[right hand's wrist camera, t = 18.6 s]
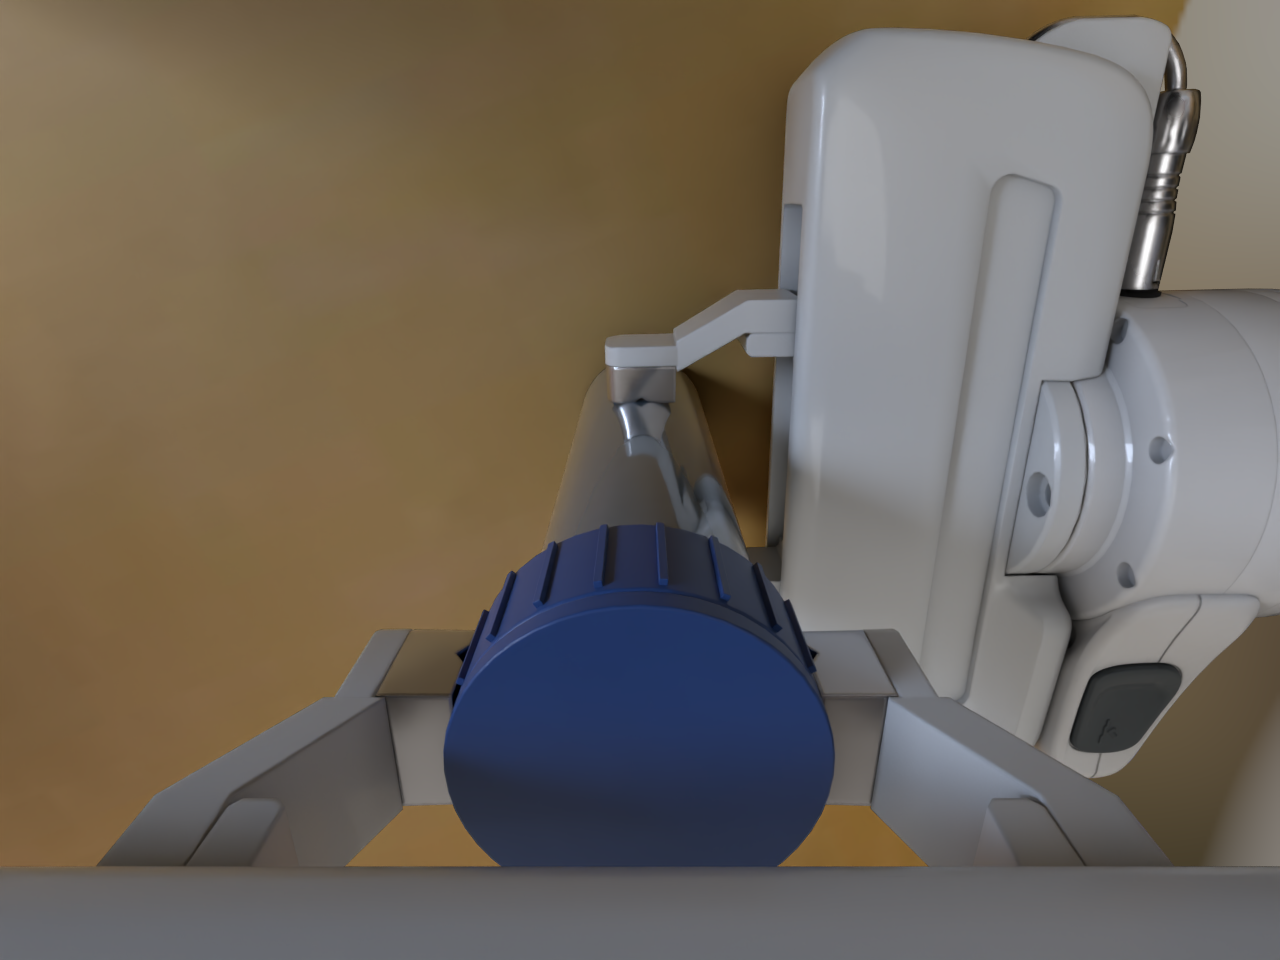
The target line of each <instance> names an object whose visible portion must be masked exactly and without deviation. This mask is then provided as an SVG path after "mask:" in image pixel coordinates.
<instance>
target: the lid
mask: <svg viewBox="0 0 1280 960" xmlns="http://www.w3.org/2000/svg"><path fill="white" fill-rule="evenodd" d="M816 671H817V669H816V667H815V664H814V661H813V659H812V656H811V653H810V651H809V648H808V645H807V643H806V640H805V637H804V635H803V632H802V629H801V627H800V624H799V622H798V619H797V616H796V614H795V611H794V608H793V606H792V603H791V602H790V600H789V599H788V600H786V601H784V600H783V598H782V597H781V595H780V594H779V592H778V591H777V589H776V588H775V586H774V585H773V584H772V583H771V582H770V580H769V579H768V578H767V577H766V576H765V574H764V571H763V568H762V566H761V565H760V564H759V563H758V562H756V563H755V564H754V565H753V564H752V563H751V562H750V561H749V560H747V559H746V558H745V557H743V556H742V555H740V554H739V553H737V552H735V551H734V550H732V549H731V548H729V547H728V546H725V545H723V544H721V543H719V541H718V538H717V537H715V536H713V535H711V536H710V538H708V537H706V536H703V535H699V534H696V533H693V532H690V531H687V530H683V529H678V528H672V527H667V526H664V523H660V522H657V523H656V525H644V524H637V525H618V526H612V527H608V525H607V524H604V525H600V529H595V530H592V531H589V532H585V533H582V534H579V535H575V536H573V537H571V538H568V539H566V540H564V541H562V542H559V543H557V544H556V542H555V541H553V542H551V543H549V544H548V547H547V549H546V550H545V551H543V552H541V553H540V554H538V555H536V556H535V557H534V558H533V559H531V560H530V561H529V562H528V563H526V564H525V565H524V566H523V567H521V568H520V569H519V570H518V571H517V572H516V573H514V572H513V571H511V572H510V573H509V574H508V575H507V578H506V580H505V583H504V586H503V589H502V590H501V592H500V593H499V594H498V596H497V597H496V599H495V601H494V603H493V605H492V607H491V609H490V611H486V610H483V612H482V615H481V617H480V620H479V623H478V625H477V628H476V630H475V633H474V636H473V638H472V641H471V644H470V646H469V649H468V651H467V654H466V657H465V659H464V662H463V665H462V667H461V670H460V672H459V675H458V678H457V680H456V684H459V685H461V688H460V691H459V694H458V696H457V699H456V702H455V705H454V707H453V710H452V713H451V716H450V720H449V723H448V726H447V729H446V734H445V742H444V749H443V758H444V774H445V779H446V783H447V788H448V793H449V795H450V798H451V801H452V803H453V806H454V809H455V811H456V813H457V815H458V816H459V818H460V820H461V822H462V824H463V825H464V827H465V829H466V830H467V831H468V833H469V834H470V835H471V837H472V838H473V839H474V841H475V842H476V843H477V844H478V846H480V847H481V848H482V849H483V850H484V851H485V852H486V853H487V854H488V855H489V856H490V857H491V858H492V859H493V860H494V861H495V862H496V863H498V864H499V865H500V866H502V867H777V866H778V865H779V864H781V863H782V862H783V861H784V860H785V859H787V858H788V857H789V856H790V855H791V854H792V853H793V852H794V851H795V850H796V849H797V848H798V847H799V846H800V845H801V843H802V842H803V841H804V840H805V838H806V837H807V836H808V835H809V833H810V832H811V831H812V829H813V827H814V826H815V824H816V822H817V821H818V819H819V817H820V816H821V814H822V812H823V809H824V807H825V804H826V802H827V799H828V797H829V794H830V789H831V785H832V781H833V776H834V766H835V747H834V738H833V732H832V728H831V725H830V721H829V718H828V714H827V711H826V709H825V706H824V703H823V700H822V698H821V696H820V692H819V690H818V687H817V684H816V681H815V679H814V676H813V673H814V672H816Z"/></svg>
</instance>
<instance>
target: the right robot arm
mask: <svg viewBox="0 0 1280 960" xmlns="http://www.w3.org/2000/svg"><path fill="white" fill-rule="evenodd" d="M802 632H803V635H804V637H805V640H806V643H807V645H808V648H809V651H810V653H811V656H812V659H813V661H814V664H815V667H816V669H817V671H816V672H814V673H813V676H814V679H815V681H816V684H817V687H818V690H819V692H820V696H821V698H822V700H823V703H824V706H825V709H826V711H827V714H828V718H829V721H830V725H831V728H832V732H833V738H834V747H835V766H834V776H833V781H832V785H831V789H830V794H829V797H828V799H827V802H826V804H825V805H861V806H871V809H872V810H873V811H874V812H875V813H876V814H877V815H878V816H879V817H880V818H881V819H882V820H883V821H884V822H885V823H886V824H887V825H888V826H889V827H890V828H891V829H892V830H893V831H894V832H895V833H896V834H897V835H898V836H899V837H900V838H901V839H902V840H903V841H904V842H905V843H906V844H907V845H908V846H909V847H910V848H911V849H912V850H913V851H914V852H915V853H916V854H917V855H918V856H919V857H920V858H921V859H922V860H923V861H924V862H925V863H926V864H927V865H928V866H929V867H344V866H346V865H347V864H348V863H349V862H350V861H351V860H352V859H353V858H354V857H355V856H356V855H357V854H358V853H359V852H360V851H361V850H362V849H363V848H364V847H365V846H366V845H367V844H368V843H369V842H370V841H371V840H372V839H373V838H374V837H375V836H376V835H377V834H378V833H379V832H380V831H381V830H382V829H383V828H384V827H385V826H386V825H387V824H388V823H389V822H390V821H391V820H392V819H393V818H394V817H395V816H396V815H397V814H398V813H400V812H401V811H402V810H403V807H402V806H412V805H447V804H453V803H452V801H451V798H450V795H449V793H448V788H447V783H446V779H445V774H444V758H443V749H444V742H445V734H446V729H447V726H448V723H449V720H450V716H451V713H452V710H453V707H454V705H455V702H456V699H457V696H458V694H459V691H460V688H461V685H459V684H456V680H457V678H458V675H459V672H460V670H461V667H462V665H463V662H464V659H465V657H466V654H467V651H468V649H469V646H470V644H471V641H472V638H473V636H474V633H475V630H434V629H414V630H412V629H381V630H378V631H376V632H375V633H374V634H373V636H372V637H371V639H370V640H369V642H368V644H367V645H366V647H365V648H364V650H363V652H362V653H361V655H360V656H359V658H358V660H357V661H356V663H355V665H354V666H353V668H352V669H351V671H350V673H349V674H348V676H347V677H346V679H345V681H344V682H343V684H342V685H341V687H340V689H339V690H338V692H337V693H336V695H335V697H323V698H322V699H320V700H318V701H316V702H315V703H313V704H311V705H309V706H308V707H306V708H304V709H303V710H301V711H299V712H297V713H296V714H294V715H292V716H290V717H289V718H287V719H285V720H284V721H282V722H280V723H278V724H277V725H275V726H273V727H271V728H270V729H268V730H266V731H265V732H263V733H261V734H259V735H258V736H256V737H254V738H252V739H251V740H249V741H247V742H246V743H244V744H242V745H240V746H239V747H237V748H235V749H233V750H232V751H230V752H228V753H226V754H225V755H223V756H221V757H220V758H218V759H216V760H214V761H213V762H211V763H209V764H207V765H206V766H204V767H202V768H201V769H199V770H197V771H195V772H194V773H192V774H190V775H188V776H187V777H185V778H183V779H182V780H180V781H178V782H176V783H175V784H173V785H171V786H169V787H168V788H166V789H164V790H163V791H161V792H159V793H157V794H156V795H154V796H153V798H152V799H151V800H150V801H149V803H148V804H147V805H146V806H145V807H144V809H143V810H142V811H141V812H140V813H139V815H138V816H137V817H136V818H135V820H134V821H133V822H132V823H131V824H130V826H129V827H128V828H127V829H126V830H125V832H124V833H123V834H122V835H121V837H120V838H119V839H118V840H117V841H116V843H115V844H114V845H113V846H112V848H111V849H110V850H109V851H108V852H107V854H106V855H105V856H104V857H103V858H102V860H101V861H100V862H99V863H98V865H97V866H0V960H1280V867H1175V866H1174V865H1173V864H1172V862H1171V861H1170V860H1169V859H1168V858H1167V856H1166V855H1165V854H1164V853H1163V851H1162V850H1161V849H1160V848H1159V846H1158V845H1157V844H1156V843H1155V841H1154V840H1153V839H1152V838H1151V836H1150V835H1149V834H1148V833H1147V831H1146V830H1145V829H1144V828H1143V826H1142V825H1141V824H1140V823H1139V821H1138V820H1137V819H1136V818H1135V816H1134V815H1133V814H1132V813H1131V811H1130V810H1129V809H1128V808H1127V806H1126V805H1125V804H1124V803H1123V801H1122V800H1121V799H1120V798H1119V796H1117V795H1115V794H1114V793H1112V792H1110V791H1109V790H1107V789H1105V788H1104V787H1102V786H1100V785H1098V784H1097V783H1095V782H1093V781H1092V780H1090V779H1088V778H1086V777H1085V776H1083V775H1081V774H1080V773H1078V772H1076V771H1074V770H1073V769H1071V768H1069V767H1068V766H1066V765H1064V764H1063V763H1061V762H1059V761H1057V760H1056V759H1054V758H1052V757H1051V756H1049V755H1047V754H1045V753H1044V752H1042V751H1040V750H1039V749H1037V748H1035V747H1034V746H1032V745H1030V744H1028V743H1027V742H1025V741H1023V740H1022V739H1020V738H1018V737H1016V736H1015V735H1013V734H1011V733H1010V732H1008V731H1006V730H1004V729H1003V728H1001V727H999V726H998V725H996V724H994V723H993V722H991V721H989V720H987V719H986V718H984V717H982V716H981V715H979V714H977V713H975V712H974V711H972V710H970V709H969V708H967V707H965V706H964V705H962V704H960V703H958V702H957V701H955V700H953V699H952V698H950V697H939V696H938V695H937V693H936V691H935V690H934V688H933V687H932V685H931V683H930V682H929V680H928V678H927V677H926V675H925V674H924V672H923V670H922V669H921V667H920V666H919V664H918V662H917V661H916V659H915V657H914V656H913V654H912V653H911V651H910V649H909V648H908V646H907V644H906V643H905V641H904V640H903V638H902V636H901V635H900V633H899V632H898V631H897V630H895V629H893V628H892V629H864V630H841V631H802Z"/></svg>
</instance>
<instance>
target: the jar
mask: <svg viewBox="0 0 1280 960" xmlns="http://www.w3.org/2000/svg"><path fill="white" fill-rule="evenodd" d="M657 522H660V523H664V526H667V527H672V528H678V529H683V530H687V531H690V532H693V533H696V534H699V535H703V536H706V537H708V538H710V536H711V535H713V536H715V537H717V538H718V541H719V543H721V544H723V545H725V546H728V547H729V548H731V549H732V550H734V551H735V552H737V553H739V554H740V555H742V556H743V557H745V558H746V559H747V560H749V561H750V559H749V555H748V552H747V549H746V546H745V543H744V539H743V536H742V533H741V530H740V527H739V523H738V520H737V517H736V514H735V510H734V507H733V504H732V501H731V498H730V494H729V491H728V488H727V485H726V482H725V478H724V475H723V472H722V469H721V466H720V462H719V459H718V456H717V453H716V450H715V446H714V443H713V440H712V437H711V434H710V430H709V427H708V424H707V421H706V418H705V414H704V411H703V408H702V405H701V402H700V398H699V395H698V392H697V390H696V388H695V386H694V385H693V383H692V382H691V380H690V379H689V378H688V376H687V375H686V374H685V373H684V372H683V371H681V370H680V371H678V372H677V369H676V397H675V403H653V402H647V401H646V400H644V399H643V398H639V399H638V400H637V401H635V402H633V403H627V404H619V403H612V402H610V401H608V398H607V382H606V368H605V369H604V370H603V371H602V372H601V373H599V374H598V376H597V377H596V378H595V379H594V380H593V382H592V383H591V385H590V387H589V389H588V391H587V393H586V396H585V399H584V402H583V406H582V409H581V413H580V416H579V420H578V423H577V427H576V431H575V434H574V438H573V441H572V445H571V448H570V452H569V456H568V459H567V463H566V466H565V470H564V473H563V477H562V480H561V484H560V488H559V491H558V495H557V498H556V502H555V505H554V509H553V512H552V516H551V520H550V523H549V527H548V530H547V534H546V537H545V541H544V544H543V548H542V552H543V551H545V550H546V549H547V547H548V544H549V543H551V542H553V541H555V542H556V544H557V543H559V542H562V541H564V540H566V539H568V538H571V537H573V536H575V535H579V534H582V533H585V532H589V531H592V530H595V529H600V525H604V524H607V525H608V527H612V526H618V525H637V524H644V525H656V523H657Z"/></svg>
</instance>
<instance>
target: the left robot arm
mask: <svg viewBox="0 0 1280 960" xmlns="http://www.w3.org/2000/svg"><path fill="white" fill-rule="evenodd" d="M1163 76H1164V80H1165V91H1162V92H1160V90H1161V85H1162V81H1163ZM1186 88H1187V68H1186V62H1185V59H1184V55H1183V52H1182V50H1181V47H1180V45H1179V43H1178V42H1177V40H1176V39H1175V37H1174V36H1173V35H1172V34H1171V31H1170V29H1169V27H1168V26H1167V25H1166V24H1164V23H1162V22H1160V21H1157V20H1154V19H1151V18H1147V17H1142V16H1137V15H1108V16H1073V17H1068V18H1064V19H1060V20H1057V21H1055V22H1052V23H1050V24H1047V25H1045V26H1044V27H1042V28H1040V29H1039V30H1037V31H1035V32H1034V33H1033V34H1031V35H1030V36H1029V37H1028V38H1026V39H1019V38H1012V37H1005V36H998V35H990V34H983V33H974V32H964V31H953V30H940V29H922V28H868V29H863V30H859V31H856V32H853V33H851V34H848V35H846V36H844V37H842V38H840V39H839V40H837V41H836V42H834V43H833V44H832V45H830V46H829V47H828V48H827V49H825V50H824V51H823V52H822V53H821V54H820V55H819V56H818V57H817V58H816V59H815V60H814V61H813V62H812V63H811V64H810V65H809V66H808V67H807V68H806V69H805V71H804V72H803V73H802V74H801V75H800V76H799V78H798V79H797V80H796V81H795V82H794V83H793V85H792V87H791V89H790V91H789V95H788V100H787V114H786V134H785V154H784V175H783V195H782V216H781V236H780V257H779V278H778V289H753V290H735V291H734V292H732V293H730V294H729V295H727V296H725V297H724V298H722V299H721V300H719V301H717V302H716V303H714V304H713V305H711V306H709V307H708V308H706V309H705V310H703V311H701V312H700V313H698V314H696V315H695V316H693V317H692V318H690V319H688V320H687V321H685V322H684V323H682V324H680V325H679V326H677V327H675V328H674V329H673V333H668V334H626V335H616V336H611V337H607V339H606V343H605V365H606V382H607V398H608V401H610V402H612V403H619V404H627V403H633V402H635V401H637V400H638V399H639V398H643V399H644V400H646V401H647V402H653V403H675V397H676V369H677V372H678V371H680V370H682V369H684V368H685V367H687V366H689V365H691V364H692V363H694V362H696V361H698V360H699V359H701V358H703V357H705V356H706V355H708V354H710V353H712V352H714V351H715V350H717V349H719V348H721V347H722V346H724V345H726V344H728V343H729V342H731V341H733V340H735V339H736V338H737V339H738V341H739V342H740V344H741V345H742V347H743V348H744V350H745V351H746V353H747V354H748V355H749V356H750V357H775V360H774V380H773V401H772V422H771V442H770V463H769V483H768V504H767V524H766V545H765V547H748V548H746V549H747V552H748V555H749V559H750V562H751V563H752V564H753V565H754V564H755V563H756V562H758V563H759V564H760V565H761V566H762V568H763V571H764V574H765V576H766V577H767V578H768V579H769V580H770V582H771V583H772V584H773V585H774V586H775V588H776V589H777V591H778V592H779V594H780V595H781V597H782V598H783V600H784V601H786V600H788V599H789V600H790V602H791V603H792V606H793V608H794V611H795V614H796V616H797V619H798V622H799V624H800V627H801V629H802V631H841V630H864V629H892V628H893V629H895V630H897V631H898V632H899V633H900V635H901V636H902V638H903V640H904V641H905V643H906V644H907V646H908V648H909V649H910V651H911V653H912V654H913V656H914V657H915V659H916V661H917V662H918V664H919V666H920V667H921V669H922V670H923V672H924V674H925V675H926V677H927V678H928V680H929V682H930V683H931V685H932V687H933V688H934V690H935V691H936V693H937V695H938V696H939V697H950V698H952V699H953V700H955V701H957V702H958V703H960V704H962V705H964V706H965V707H967V708H969V709H970V710H972V711H974V712H975V713H977V714H979V715H981V716H982V717H984V718H986V719H987V720H989V721H991V722H993V723H994V724H996V725H998V726H999V727H1001V728H1003V729H1004V730H1006V731H1008V732H1010V733H1011V734H1013V735H1015V736H1016V737H1018V738H1020V739H1022V740H1023V741H1025V742H1027V743H1028V744H1030V745H1032V746H1034V747H1035V748H1037V749H1039V750H1040V751H1042V752H1044V753H1045V754H1047V755H1049V756H1051V757H1052V758H1054V759H1056V760H1057V761H1059V762H1061V763H1063V764H1064V765H1066V766H1068V767H1069V768H1071V769H1073V770H1074V771H1076V772H1078V773H1080V774H1081V775H1083V776H1085V777H1086V778H1098V777H1104V776H1109V775H1112V774H1114V773H1116V772H1118V771H1120V770H1121V769H1122V768H1124V767H1125V766H1126V765H1127V764H1128V763H1129V762H1130V760H1131V759H1132V758H1133V757H1134V756H1135V754H1136V753H1137V752H1138V750H1139V749H1140V748H1141V746H1142V745H1143V743H1144V742H1145V741H1146V739H1147V738H1148V737H1149V735H1150V734H1151V732H1152V731H1153V730H1154V728H1155V727H1156V726H1157V724H1158V723H1159V722H1160V720H1161V719H1162V718H1163V716H1164V715H1165V714H1166V712H1167V711H1168V710H1169V709H1170V707H1171V706H1172V705H1173V704H1174V702H1175V701H1176V700H1177V699H1178V698H1179V696H1180V695H1181V694H1182V693H1183V692H1184V690H1185V689H1186V688H1187V687H1188V686H1189V685H1190V684H1191V683H1192V681H1193V680H1194V679H1195V678H1196V677H1197V676H1198V675H1199V674H1200V673H1201V672H1202V671H1203V670H1204V669H1205V668H1206V667H1207V666H1208V665H1209V664H1210V663H1211V662H1212V661H1213V660H1214V659H1215V658H1216V657H1217V656H1218V655H1219V654H1220V653H1221V652H1222V651H1224V650H1225V649H1226V648H1227V647H1228V646H1229V645H1230V644H1231V643H1233V642H1234V641H1235V640H1236V639H1237V638H1238V637H1239V636H1240V635H1241V634H1242V633H1243V632H1244V631H1245V630H1246V629H1247V628H1248V627H1249V625H1250V624H1251V622H1252V621H1253V620H1254V618H1255V617H1268V616H1274V615H1280V290H1279V289H1212V290H1169V291H1158V288H1159V284H1160V280H1161V276H1162V272H1163V268H1164V264H1165V260H1166V256H1167V252H1168V247H1169V243H1170V239H1171V235H1172V231H1173V225H1174V219H1175V214H1174V213H1173V212H1174V211H1175V210H1176V201H1174V200H1175V199H1176V198H1177V194H1178V189H1176V188H1177V186H1179V182H1180V176H1179V174H1180V173H1182V169H1183V165H1184V161H1185V158H1186V154H1187V153H1190V151H1191V149H1192V146H1193V143H1194V141H1195V137H1196V133H1197V129H1198V124H1199V119H1200V108H1201V92H1200V91H1199V90H1197V89H1186Z"/></svg>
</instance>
